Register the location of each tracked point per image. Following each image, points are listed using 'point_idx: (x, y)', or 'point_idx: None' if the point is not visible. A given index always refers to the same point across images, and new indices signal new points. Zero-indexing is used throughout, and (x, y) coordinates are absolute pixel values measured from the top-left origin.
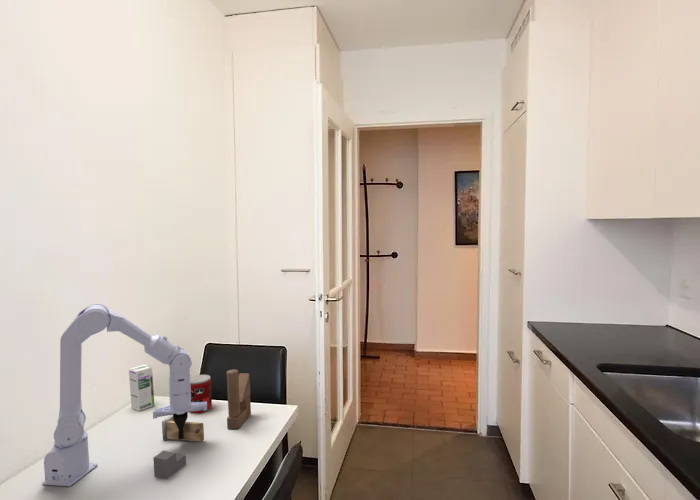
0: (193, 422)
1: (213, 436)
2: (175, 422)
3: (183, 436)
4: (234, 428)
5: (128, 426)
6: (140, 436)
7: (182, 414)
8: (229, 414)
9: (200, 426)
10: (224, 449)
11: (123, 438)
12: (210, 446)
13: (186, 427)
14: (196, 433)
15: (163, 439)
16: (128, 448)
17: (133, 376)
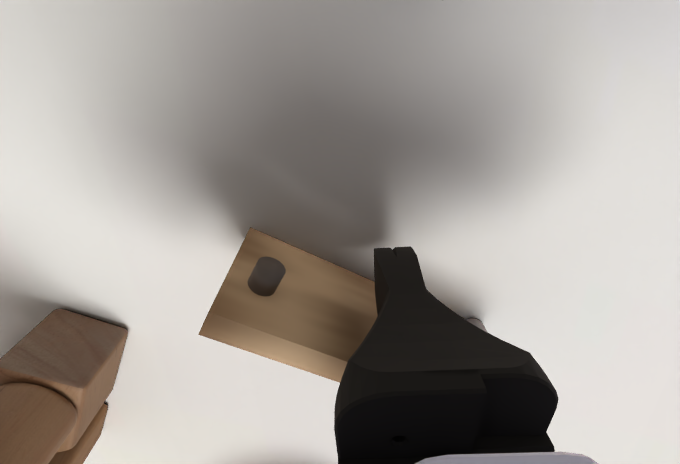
0: (296, 365)
1: (196, 276)
2: (498, 341)
3: (376, 254)
4: (75, 316)
5: (599, 458)
6: (576, 382)
7: (413, 460)
8: (45, 412)
9: (228, 302)
10: (48, 59)
11: (649, 387)
12: (183, 153)
13: (356, 336)
14: (274, 259)
15: (481, 323)
16: (664, 298)
17: None
